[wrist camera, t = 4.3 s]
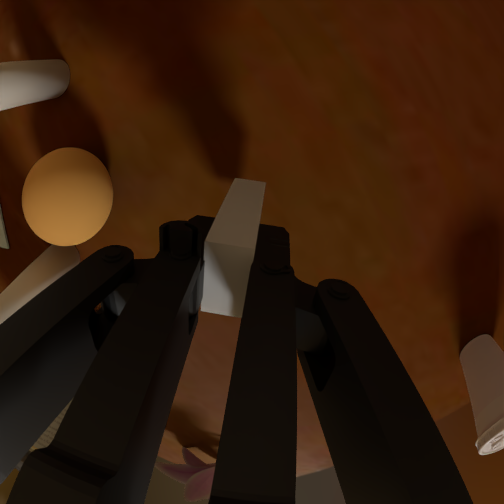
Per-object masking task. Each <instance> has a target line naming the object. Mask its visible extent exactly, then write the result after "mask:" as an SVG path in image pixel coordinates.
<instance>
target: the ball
mask: <svg viewBox="0 0 504 504" xmlns="http://www.w3.org/2000/svg"><path fill="white" fill-rule="evenodd" d="M112 202H113V186H112V181H111V178H110V175H109V173H108V171H107V169H106V167H105V166H104V164H103V163H102V162H101V161H100V160H99V159H98V158H97V157H96V156H95V155H93V154H92V153H90V152H88V151H86V150H83V149H80V148H73V147H66V148H60V149H57V150H54V151H52V152H50V153H48V154H46V155H45V156H43V157H42V158H41V159H39V160H38V161H37V162H36V164H35V165H34V166H33V167H32V169H31V170H30V172H29V174H28V175H27V178H26V180H25V183H24V187H23V191H22V207H23V212H24V215H25V218H26V221H27V223H28V224H29V226H30V228H31V229H32V230H33V231H34V233H35V234H36V235H37V236H39V237H40V238H41V239H43V240H44V241H46V242H48V243H51V244H53V245H58V246H73V245H77V244H80V243H82V242H85V241H86V240H88V239H90V238H91V237H93V236H94V235H95V234H96V233H97V232H98V231H99V230H100V229H101V228H102V226H103V225H104V223H105V222H106V220H107V218H108V216H109V213H110V211H111V207H112Z"/></svg>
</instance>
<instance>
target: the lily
mask: <svg viewBox="0 0 504 504" xmlns="http://www.w3.org/2000/svg"><path fill="white" fill-rule="evenodd" d="M182 453H183V458H184V461H185V463H186V464H170V463H162V462H155V465H154V466H155V467H156V468H157V469H158V470H160V471H161V472H162V473H164V474H165V475H167V476H168V477H170V478H172V479H174V480H175V481H177V482H180V483H184V484H186V485H185V489H184V498H185V500H186V501H199V500H203V499H206V498H208V500H209V498H210V493H211V488H212V482H213V476H214V471H215V465H216V463H211V464H206V463H204V462H203V461H201V460H200V459H199V458H198V457H196V456H195V455H194V454H193V453H192V452H190V451H189V450H188V449H187V448H185V447H182Z"/></svg>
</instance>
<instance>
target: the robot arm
mask: <svg viewBox="0 0 504 504" xmlns="http://www.w3.org/2000/svg"><path fill="white" fill-rule="evenodd" d="M265 185H266V182H259V181H253V180H246V179H239V178H235V179H234V181H233V183H232V185H231V187H230V189H229V191H228V193H227V195H226V197H225V199H224V201H223V204H222V206H221V208H220V210H219V212H218V214H217V216H216V218H213V217H206V216H199V215H197V216H195V217H193V218H191V219H189V221H180V220H177V221H170V222H167V223H164V224H163V225H161V226H160V227H159V239H160V251H159V253H158V254H157V256H156V257H155V258H152V259H134V253H133V252H132V250H131V249H129V248H127V247H125V246H120V245H110V246H107V247H104V248H102V249H100V250H98V251H96V252H95V253H93V254H92V255H90V256H89V257H88V258H86V259H85V260H83V261H82V262H81V263H79V264H78V265H76V266H75V267H74V268H72V269H71V270H69V271H68V272H67V273H65V274H64V275H63V276H61V277H60V278H59V279H57V280H56V281H54V282H53V283H52V284H50V285H49V286H48V287H47V288H45V289H44V290H43V291H41V292H40V293H39V294H37V295H36V296H35V297H34V298H32V299H31V300H30V301H28V302H27V303H26V304H25V305H23V306H22V307H21V308H20V309H18V310H17V311H16V312H15V313H14V314H12V315H11V316H10V317H9V318H7V319H6V320H5V321H4V322H3V323H1V324H0V484H1V483H2V482H3V481H4V480H5V479H6V478H7V477H8V475H9V474H10V473H11V471H12V470H13V469H14V468H15V467H16V465H17V464H18V463H19V462H20V461H21V459H22V458H23V457H24V456H25V454H26V453H27V452H28V451H29V450H30V448H31V447H32V446H33V445H34V443H35V442H36V441H37V440H38V439H39V437H40V436H41V435H42V434H43V433H44V432H45V430H46V429H47V428H48V427H49V426H50V424H51V423H52V422H53V421H54V420H55V419H56V417H57V416H58V415H59V414H60V413H61V412H62V410H63V409H64V408H65V407H66V406H67V405H68V403H69V402H70V401H71V400H72V399H73V400H72V401H71V403H70V405H69V407H68V409H67V411H66V413H65V416H64V418H63V420H62V422H61V424H60V426H59V428H58V430H57V432H56V434H55V436H54V438H53V440H52V442H51V443H50V445H48V446H47V447H45V448H39V449H35V450H34V451H32V452H31V453H30V454H29V455H28V456H27V458H26V460H25V461H24V463H23V465H22V467H21V469H20V471H19V474H18V476H17V478H16V481H15V483H14V486H13V488H12V490H11V493H10V495H9V498H8V500H7V503H6V504H144V502H145V498H146V494H147V490H148V486H149V483H150V479H151V476H152V472H153V468H154V465H155V461H156V458H157V454H158V451H159V447H160V444H161V440H162V437H163V433H164V430H165V426H166V423H167V420H168V416H169V413H170V409H171V406H172V403H173V399H174V396H175V393H176V390H177V386H178V383H179V380H180V377H181V373H182V370H183V367H184V364H185V360H186V357H187V354H188V351H189V348H190V345H191V341H192V338H193V335H194V332H195V329H196V326H197V323H198V309H199V307H200V304H201V311H205V312H210V313H216V314H222V315H227V316H233V317H240V318H242V319H241V324H240V330H239V336H238V341H237V347H236V353H235V358H234V364H233V369H232V375H231V381H230V386H229V392H228V398H227V403H226V409H225V415H224V420H223V426H222V431H221V437H220V443H219V448H218V454H217V460H216V465H215V471H214V476H213V482H212V488H211V493H210V498H209V503H208V504H295V486H296V485H295V484H296V450H297V353H298V357H299V360H300V363H301V366H302V369H303V372H304V375H305V378H306V381H307V384H308V387H309V390H310V393H311V396H312V399H313V402H314V405H315V408H316V411H317V415H318V418H319V421H320V424H321V427H322V430H323V433H324V436H325V439H326V442H327V445H328V448H329V452H330V455H331V458H332V461H333V464H334V467H335V470H336V473H337V477H338V480H339V483H340V486H341V489H342V492H343V495H344V499H345V502H346V504H473V502H472V500H471V497H470V495H469V493H468V491H467V488H466V486H465V484H464V482H463V479H462V477H461V475H460V473H459V471H458V469H457V466H456V465H455V462H454V460H453V458H452V456H451V454H450V452H449V450H448V448H447V446H446V444H445V442H444V440H443V438H442V436H441V434H440V432H439V430H438V428H437V426H436V424H435V422H434V420H433V418H432V417H431V415H430V413H429V411H428V409H427V407H426V405H425V403H424V402H423V400H422V398H421V396H420V394H419V392H418V391H417V389H416V387H415V385H414V383H413V382H412V380H411V378H410V376H409V375H408V373H407V371H406V369H405V368H404V366H403V364H402V362H401V361H400V359H399V357H398V355H397V354H396V352H395V350H394V349H393V347H392V345H391V344H390V342H389V340H388V339H387V337H386V335H385V334H384V332H383V330H382V329H381V327H380V325H379V324H378V322H377V321H376V319H375V317H374V316H373V314H372V312H371V311H370V309H369V308H368V306H367V304H366V303H365V301H364V300H363V298H362V297H361V295H360V293H359V292H358V291H357V290H356V289H355V287H354V286H352V285H350V284H349V283H347V282H345V281H342V280H339V279H325V280H323V281H321V282H319V284H318V286H317V287H314V286H312V285H309V284H306V283H304V282H302V281H301V280H299V279H297V278H296V277H295V276H294V270H293V267H291V266H290V248H289V247H290V243H289V233H288V232H287V231H286V230H285V228H283V227H277V226H271V225H265V224H259V223H260V217H261V210H262V204H263V198H264V191H265ZM99 303H101V308H100V309H99V310H98V311H96V312H95V310H94V308H95V307H96V306H97V305H98V304H99Z"/></svg>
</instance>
